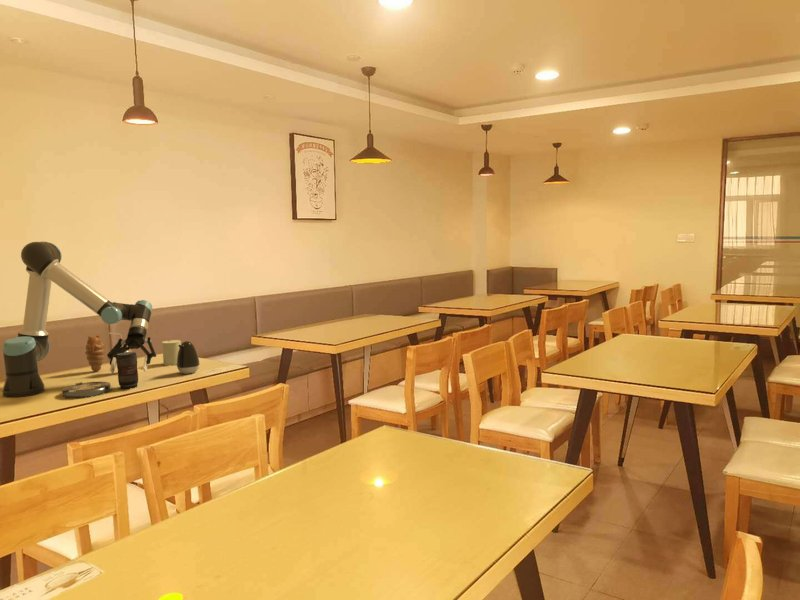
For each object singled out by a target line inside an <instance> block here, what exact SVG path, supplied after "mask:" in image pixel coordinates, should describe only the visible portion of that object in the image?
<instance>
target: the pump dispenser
mask: <svg viewBox="0 0 800 600" xmlns="http://www.w3.org/2000/svg"><path fill="white" fill-rule="evenodd" d="M179 347H180V348H179V351H178V355H177V365H176V368H177V369H178V372H180V373H181V374H184V375H191V374H194V373H196V372H197V371H198V370H199V367H200V359H199V355H198V351H197V350H196V348H195V345H194V344H193V343H192V341H189V340H188V341H187V340H185V341H183V342H181V345H179ZM190 373H191V374H190Z"/></svg>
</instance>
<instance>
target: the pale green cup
mask: <svg viewBox="0 0 800 600" xmlns="http://www.w3.org/2000/svg"><path fill="white" fill-rule="evenodd" d="M181 344H182V341H181V340H180V339H170V340H165V341H162V342H161V347H162V358H163V361H162V363H163V366H166V365H171V366H177V355H178V351H179V348H180V347H179V345H181Z"/></svg>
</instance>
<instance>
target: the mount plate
mask: <svg viewBox="0 0 800 600" xmlns="http://www.w3.org/2000/svg"><path fill="white" fill-rule="evenodd" d="M108 391H109V392H111V391H112V387H111V383H110V382H108V381H88V382H82V381H79V382H75V384H71V385H69V386H66V387H64V388H62V390H61V394H62V397H63V398H64V397H65V399H70V398H76V399H85V397H87V398H92V397H91V396H93V397H97V396H96V395H98V396H101V394H102V395H104V394H103V393H105V394H107V393H109V392H108ZM106 392H107V393H106Z"/></svg>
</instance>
